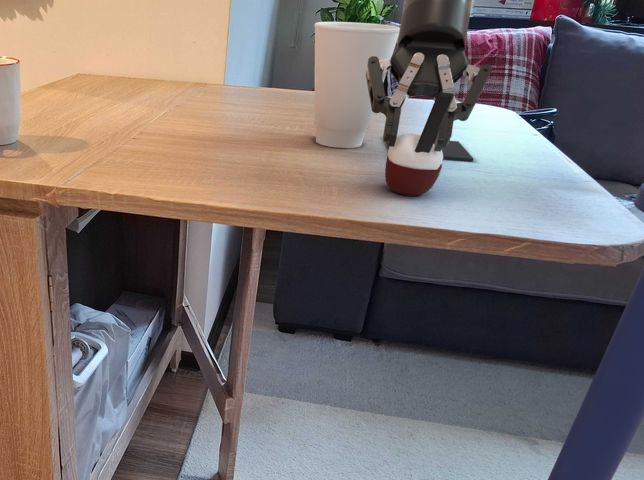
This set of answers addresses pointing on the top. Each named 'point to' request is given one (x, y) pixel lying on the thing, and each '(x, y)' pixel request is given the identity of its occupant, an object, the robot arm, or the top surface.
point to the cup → (346, 78)
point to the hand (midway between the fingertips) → (415, 144)
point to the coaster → (455, 152)
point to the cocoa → (418, 154)
